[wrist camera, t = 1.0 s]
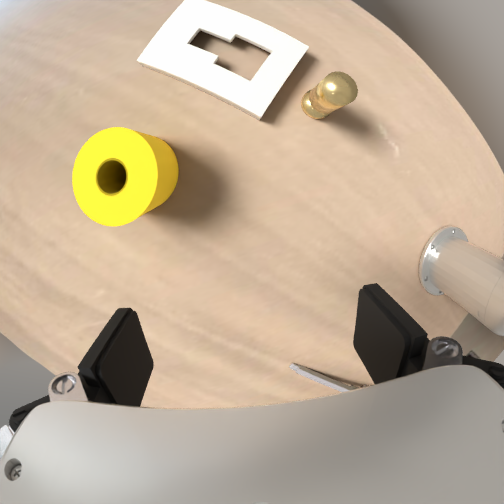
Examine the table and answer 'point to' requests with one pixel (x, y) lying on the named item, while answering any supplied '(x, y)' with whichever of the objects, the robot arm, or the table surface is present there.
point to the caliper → (322, 378)
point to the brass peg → (329, 95)
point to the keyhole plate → (203, 63)
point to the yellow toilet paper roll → (123, 175)
